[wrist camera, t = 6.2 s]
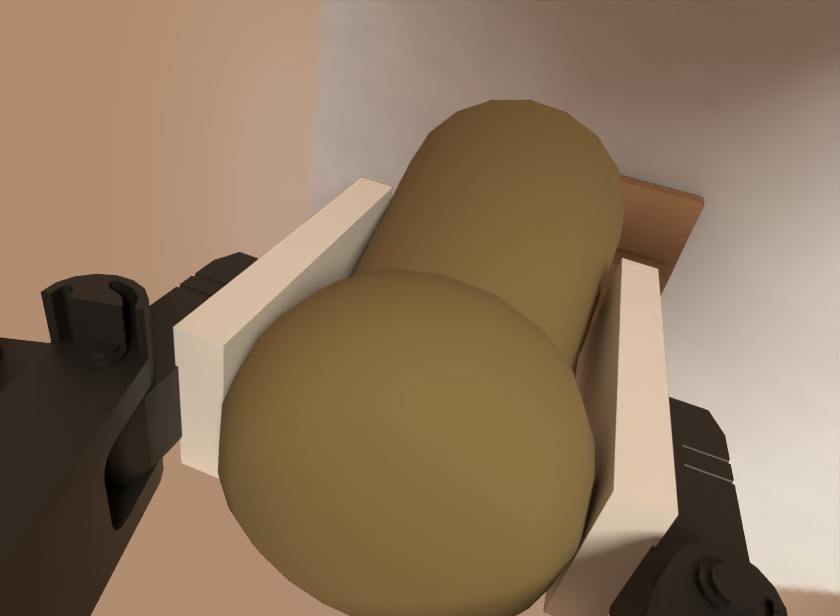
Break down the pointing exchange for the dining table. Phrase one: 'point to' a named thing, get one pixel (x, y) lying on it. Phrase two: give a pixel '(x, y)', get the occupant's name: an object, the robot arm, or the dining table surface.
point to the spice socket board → (652, 230)
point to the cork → (437, 382)
